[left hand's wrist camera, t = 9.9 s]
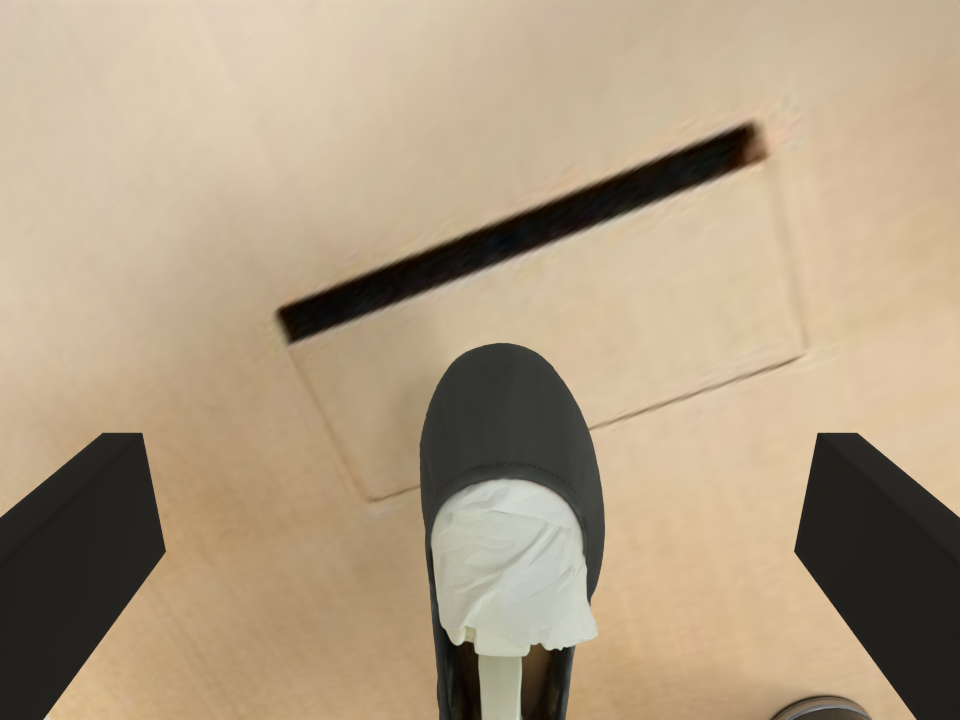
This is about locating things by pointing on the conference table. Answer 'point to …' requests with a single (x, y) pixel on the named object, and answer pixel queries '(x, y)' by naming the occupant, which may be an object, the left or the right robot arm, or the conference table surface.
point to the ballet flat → (508, 534)
